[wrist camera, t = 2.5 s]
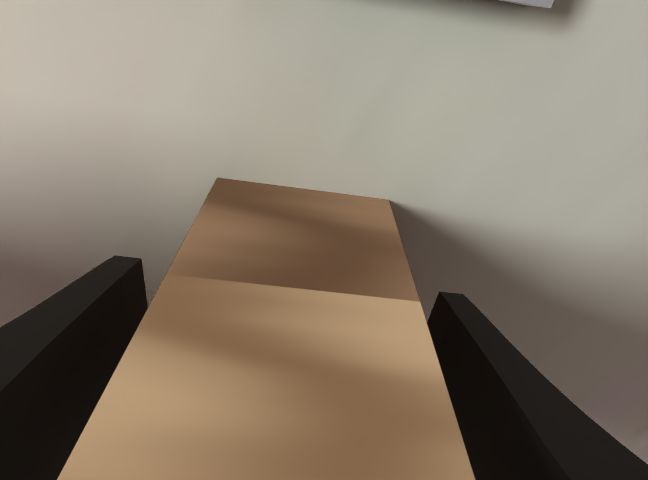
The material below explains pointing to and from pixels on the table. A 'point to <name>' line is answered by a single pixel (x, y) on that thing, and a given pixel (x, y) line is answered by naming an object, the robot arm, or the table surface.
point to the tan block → (279, 354)
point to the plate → (532, 2)
